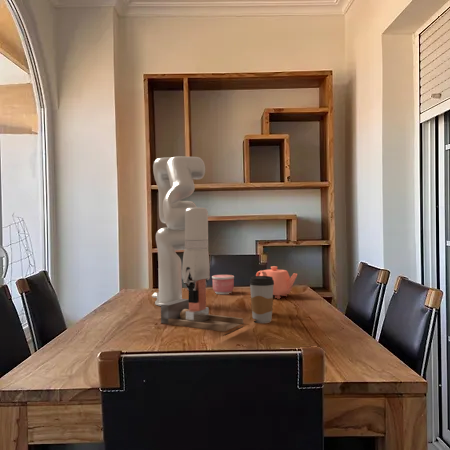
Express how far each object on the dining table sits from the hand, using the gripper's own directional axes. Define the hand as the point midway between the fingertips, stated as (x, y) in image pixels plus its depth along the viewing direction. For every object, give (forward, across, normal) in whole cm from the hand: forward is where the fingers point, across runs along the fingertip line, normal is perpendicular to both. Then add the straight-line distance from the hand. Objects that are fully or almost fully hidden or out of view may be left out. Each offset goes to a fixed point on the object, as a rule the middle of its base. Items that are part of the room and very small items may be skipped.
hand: (197, 300), depth 147 cm
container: (+8, -60, -25) cm, 66 cm away
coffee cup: (+8, -16, +16) cm, 24 cm away
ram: (+7, 0, 0) cm, 7 cm away
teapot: (+8, -61, +1) cm, 62 cm away
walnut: (+7, 0, -5) cm, 8 cm away
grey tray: (+8, 0, +2) cm, 8 cm away
